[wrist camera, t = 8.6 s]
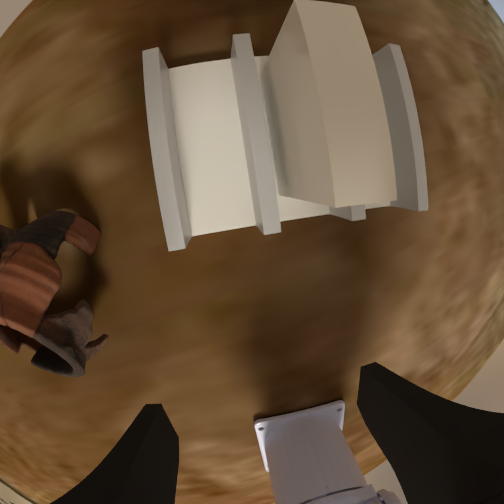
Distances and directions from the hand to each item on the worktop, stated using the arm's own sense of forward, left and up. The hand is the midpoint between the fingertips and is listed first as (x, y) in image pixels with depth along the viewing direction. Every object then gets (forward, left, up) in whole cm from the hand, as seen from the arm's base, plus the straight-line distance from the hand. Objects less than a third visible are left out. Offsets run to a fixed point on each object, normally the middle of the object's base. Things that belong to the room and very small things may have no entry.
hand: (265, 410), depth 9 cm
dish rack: (+10, -4, -9) cm, 14 cm away
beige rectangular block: (+10, -4, -8) cm, 14 cm away
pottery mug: (+4, +13, -10) cm, 17 cm away
